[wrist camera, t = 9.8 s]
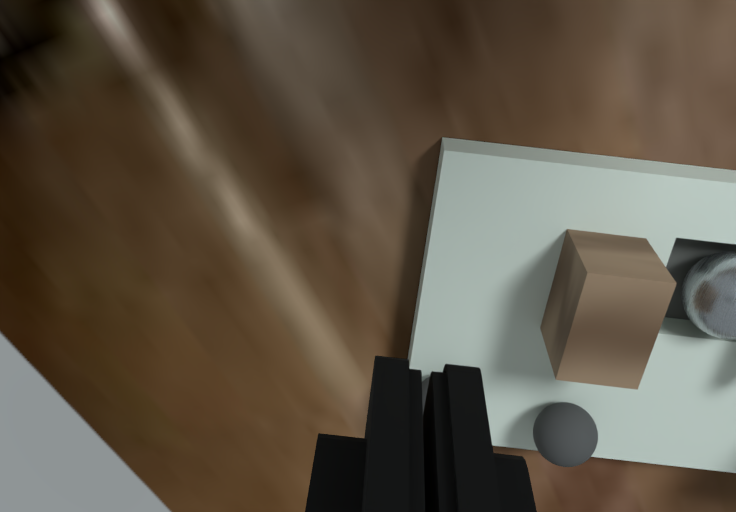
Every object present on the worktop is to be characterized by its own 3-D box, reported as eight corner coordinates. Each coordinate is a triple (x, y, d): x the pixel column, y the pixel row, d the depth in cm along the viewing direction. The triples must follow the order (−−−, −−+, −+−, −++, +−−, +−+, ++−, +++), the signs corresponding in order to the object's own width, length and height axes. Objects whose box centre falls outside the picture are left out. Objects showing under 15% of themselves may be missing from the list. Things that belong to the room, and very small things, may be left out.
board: (442, 137, 35) (447, 172, 30) (876, 186, 35) (944, 229, 30) (399, 412, 43) (398, 471, 39) (747, 452, 43) (786, 515, 39)
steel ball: (809, 263, 34) (720, 228, 37) (772, 290, 31) (679, 250, 34) (776, 337, 36) (694, 298, 39) (739, 368, 34) (654, 325, 36)
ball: (535, 386, 39) (546, 428, 36) (596, 392, 39) (612, 435, 36) (523, 432, 41) (532, 476, 38) (581, 439, 41) (595, 484, 38)
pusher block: (566, 228, 35) (587, 272, 31) (646, 238, 35) (677, 283, 31) (540, 327, 37) (555, 379, 33) (613, 336, 37) (637, 389, 33)
